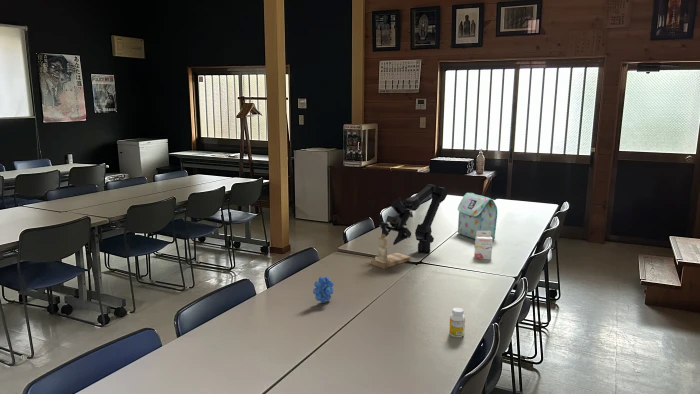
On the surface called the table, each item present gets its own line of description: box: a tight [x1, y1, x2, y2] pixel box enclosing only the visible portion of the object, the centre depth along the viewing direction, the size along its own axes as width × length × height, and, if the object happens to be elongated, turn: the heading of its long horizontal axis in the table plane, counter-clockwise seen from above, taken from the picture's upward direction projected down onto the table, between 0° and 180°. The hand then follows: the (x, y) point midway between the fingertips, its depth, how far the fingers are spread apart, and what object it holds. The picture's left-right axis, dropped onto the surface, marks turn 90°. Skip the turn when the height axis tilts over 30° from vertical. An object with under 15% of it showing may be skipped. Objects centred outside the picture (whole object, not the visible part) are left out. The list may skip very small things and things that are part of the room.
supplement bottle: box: [449, 307, 466, 338], centre depth 186 cm, size 5×5×10 cm
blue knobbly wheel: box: [312, 276, 335, 304], centre depth 214 cm, size 12×7×12 cm, turn 138°
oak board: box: [370, 252, 411, 269], centre depth 269 cm, size 20×10×2 cm, turn 132°
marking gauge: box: [374, 233, 390, 263], centre depth 264 cm, size 5×6×14 cm
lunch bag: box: [457, 192, 498, 240], centre depth 317 cm, size 23×16×27 cm
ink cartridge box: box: [473, 231, 494, 260], centre depth 275 cm, size 9×5×15 cm, turn 84°
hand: (387, 242), depth 265 cm, fingers open, 9 cm apart
